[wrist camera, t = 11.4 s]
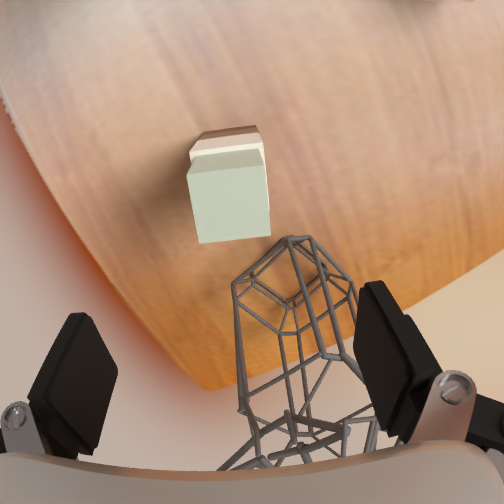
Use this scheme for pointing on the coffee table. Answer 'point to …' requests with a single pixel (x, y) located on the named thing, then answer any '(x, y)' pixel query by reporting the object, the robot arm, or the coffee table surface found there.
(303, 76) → the coffee table surface
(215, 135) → the walnut block
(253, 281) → the geometric lantern
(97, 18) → the coffee table surface
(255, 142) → the cream block
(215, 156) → the sage block
